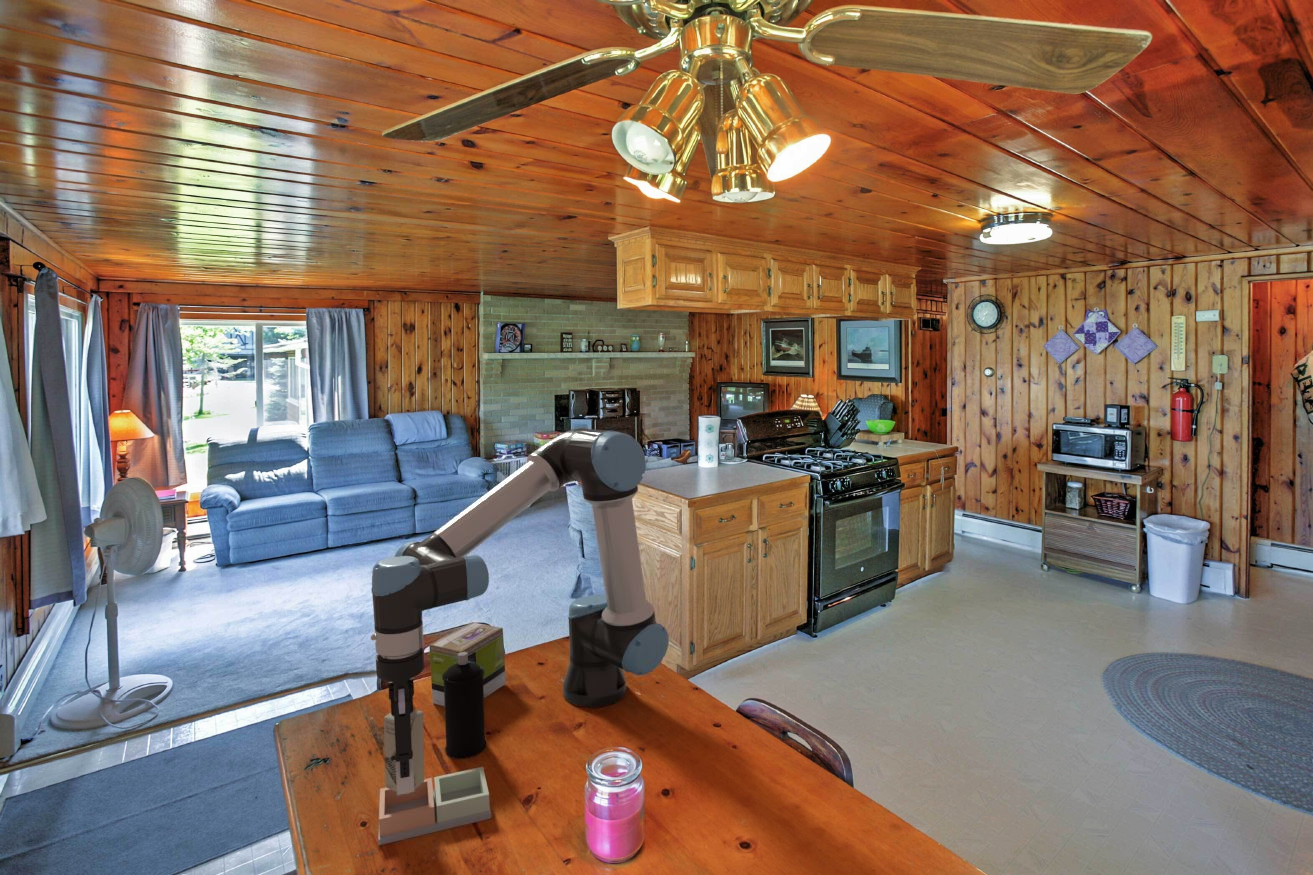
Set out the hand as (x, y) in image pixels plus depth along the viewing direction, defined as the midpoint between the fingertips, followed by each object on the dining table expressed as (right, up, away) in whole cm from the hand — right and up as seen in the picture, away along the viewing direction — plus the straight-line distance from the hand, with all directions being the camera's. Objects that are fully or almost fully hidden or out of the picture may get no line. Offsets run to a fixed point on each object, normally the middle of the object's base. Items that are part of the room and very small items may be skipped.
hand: (405, 779), depth 114 cm
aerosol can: (+4, -5, +23) cm, 23 cm away
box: (0, -1, 0) cm, 1 cm away
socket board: (+4, -7, +2) cm, 9 cm away
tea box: (-2, -3, +45) cm, 45 cm away
